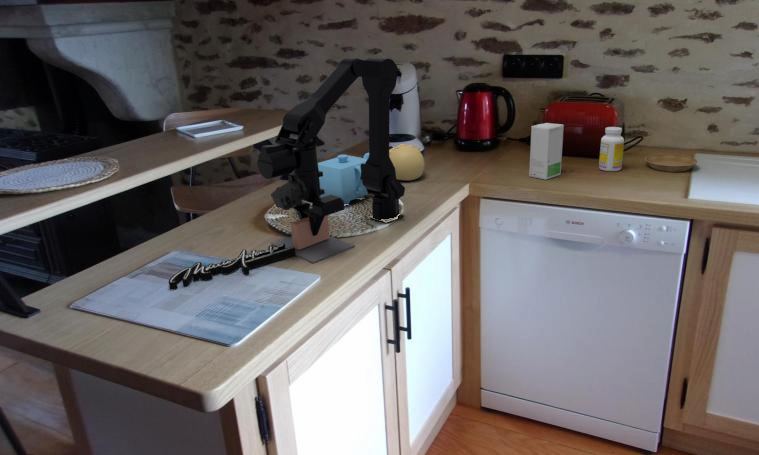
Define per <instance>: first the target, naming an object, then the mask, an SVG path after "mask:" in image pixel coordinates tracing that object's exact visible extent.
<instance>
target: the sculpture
mask: <svg viewBox="0 0 759 455" xmlns="http://www.w3.org/2000/svg"><path fill="white" fill-rule="evenodd" d="M420 150H421V147H419V146H416V145H414V144H406V143H401V144H398V145H397V146H395V147H392V148H389V157H390V159H391V161H392V163H393V165H394V167H395V172H396V179H397V180H398V181H413V180H417V179H419V178H421V176H422V174H423V173H424V170H425V158H424V155H423V154H422V152H421V151H420Z"/></svg>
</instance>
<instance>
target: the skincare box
mask: <svg viewBox="0 0 759 455" xmlns="http://www.w3.org/2000/svg"><path fill="white" fill-rule="evenodd" d="M564 127H565V125H564V124H561V123H551V122H545V123H539V124H536V125H531V129H530V130H531V131H530V150H529V151H530V152H529V171H528V176H529V177H530V178H536V179H540V180H545V181H547V180H549V179H553V178H554V177H558V176H561V172H562V159H563V158H562V157H563V156H562V155H563V143H564V142H563V141H564Z"/></svg>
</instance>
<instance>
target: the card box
mask: <svg viewBox="0 0 759 455" xmlns="http://www.w3.org/2000/svg"><path fill="white" fill-rule="evenodd" d="M290 230H291V236H292V240H293V247H295V249H298V250H300V249H302V248H305V247H308V246H310V245H313V244H315V243H318V242H321V241H323V240H326V239H329V238H330V236H331V235H330V227H329V215H327V216H325V217H324V219H323V222H322V224H321V227H320V229H319V232H318V234H317V235H316V236H313V235H312V231H311V226H310V221H309V217H307V218H304V219H301V220H300V219H299V220H295V221H292V222H290Z"/></svg>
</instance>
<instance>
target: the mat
mask: <svg viewBox="0 0 759 455" xmlns="http://www.w3.org/2000/svg"><path fill="white" fill-rule="evenodd" d="M281 244H285V249H286V248H289V247H293V240H292V235H291V236H289V237H285V238H282V239H281V240H277V241H274V242H271V244H270V246H273V247H277V246H279V245H281ZM355 247H356V245H355V244H353V243H350V242H347V241H344V240H342V239H339V238H337V237H334V236H332V237H330V238H329V239H326V240H323V241H321V242H318V243H315V244H313V245H310V246H308V247H305V248H302V249H300V250H298V249H295V253H296V254H295V255H294V256H295V257H298V258H299V259H302V260H304V261H306V262H309V263H311V264H316V263H319V262H322V261H324V260H326V259H329V258H330V257H333V256H336V255H338V254H341V253H343V252H346V251H348V250H351V249H354V248H355Z"/></svg>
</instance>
